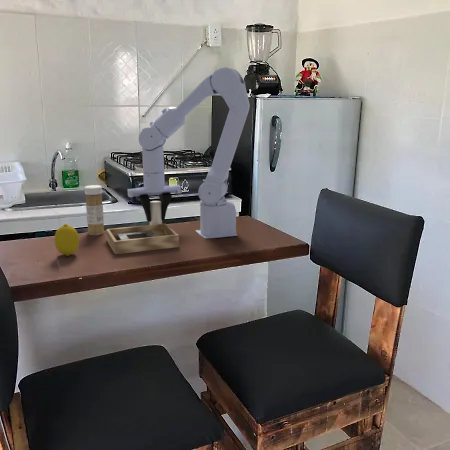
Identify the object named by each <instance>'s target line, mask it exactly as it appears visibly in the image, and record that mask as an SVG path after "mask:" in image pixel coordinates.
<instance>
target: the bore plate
mask: <svg viewBox="0 0 450 450" xmlns="http://www.w3.org/2000/svg"><path fill="white" fill-rule="evenodd" d="M147 237H157V236H156V235H155V234H154V233H153V232H152V231H151V230H150V231H140V232H130V233H120V234H117V241H118V240H128V239H137V238H147Z"/></svg>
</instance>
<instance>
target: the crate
mask: <svg viewBox="0 0 450 450" xmlns="http://www.w3.org/2000/svg"><path fill="white" fill-rule="evenodd" d="M150 230H151V231H152V232H153V233H154V234H155V235H156V236H157V237H147V238H137V239H128V240H118V241H117V234H120V233H130V232H140V231H150ZM105 233H106V234H105V235H106V242H107V244H108V245H109V247H110V249H111V250H112V252H113V253H114V255H122V254H131V253H137V252H146V251H155V250H165V249H172V248H174V249H175V248H180V235H179V234H178V233H177V232H176V231H175V230H174V229H173V228H172V227H170V226H169V225H168V224H167V223H162V224H155V225H150V224H145V225H137V226H123V227H114V228H107V229H106V230H105Z"/></svg>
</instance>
